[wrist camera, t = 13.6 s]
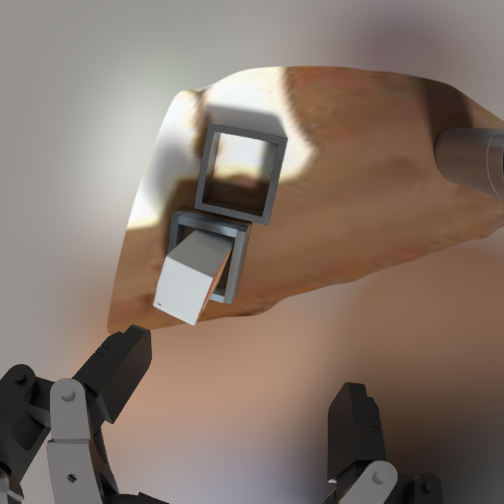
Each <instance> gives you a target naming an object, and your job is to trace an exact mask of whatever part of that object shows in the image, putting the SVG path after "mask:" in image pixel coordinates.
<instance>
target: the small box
mask: <svg viewBox="0 0 504 504" xmlns="http://www.w3.org/2000/svg"><path fill="white" fill-rule="evenodd" d="M234 244H235V241H233V240H231V239H229V238H226V237H224V236H222V235H220V234H217V233H215V232H211V231H207V230H203V229H199V228H197V229H196V230H195V231H194V232H192V233H191V234H190V235H189V236H188V237H187V238H186V239H185V240H183V241H182V242H181V243H180V244H179V245H178V246H177V247H176V248H175V249H173V250H172V251H171V252H170V253H169V254H168V255H167V256H166V258H165V261H164V265H163V268H162V271H161V275H160V278H159V281H158V285H157V290H156V295H155V299H154V303H153V306H155V307H157V308H159V309H160V310H162V311H164V312H166V313H168V314H170V315H172V316H174V317H177V318H179V319H181V320H183V321H185V322H187V323H189V324H192V325H195V324H196V323H197V321H198V319H199V317H200V315H201V313H202V311H203V310H204V308H205V306H206V304H207V302H208V300H209V299H210V297H211V295H212V293H213V291H214V290H215V288H216V286H217V284H218V282H219V280H220V277H221V274H222V272H223V269H224V267H225V265H226V262H227V260H228V257H229V255H230V253H231V250H232V248H233V246H234Z"/></svg>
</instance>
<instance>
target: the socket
mask: <svg viewBox="0 0 504 504" xmlns="http://www.w3.org/2000/svg"><path fill="white" fill-rule="evenodd" d="M221 133H224V134H230V135H236V136H242V137H247V138H252V139H257V140H262V141H267V142H272V143H276V144H279V145H278V149H277V154H276V158H275V163H274V167H273V171H272V176H271V180H270V185H269V189H268V194H267V198H266V203H265V207H264V211H260V210H256V209H252V208H248V207H243V206H239V205H235V204H230V203H226V202H221V201H217V200H212V199H209V194H210V188H211V182H212V176H213V171H214V165H215V160H216V155H217V149H218V144H219V139H220V134H221ZM287 142H288V138H284V137H279V136H275V135H270V134H265V133H260V132H255V131H250V130H244V129H239V128H233V127H227V126H220V125H214V124H209V126H208V131H207V136H206V141H205V146H204V151H203V157H202V163H201V168H200V174H199V180H198V186H197V193H196V199H195V206H194V208H195V209H200V210H204V211H208V212H213V213H217V214H222V215H226V216H230V217H234V218H239V219H243V220H247V221H251V222H255V223H259V224H264V225H268V223H269V220H270V216H271V212H272V208H273V203H274V199H275V195H276V190H277V186H278V182H279V177H280V173H281V169H282V164H283V160H284V156H285V151H286V147H287Z"/></svg>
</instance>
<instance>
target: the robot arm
mask: <svg viewBox="0 0 504 504" xmlns="http://www.w3.org/2000/svg"><path fill="white" fill-rule="evenodd" d="M435 158H436V163H437V166H438V168H439V170H440V172H441V174H442V175H443V176H444V177H445V178H446V179H447V180H449V181H451V182H453V183H456V184H459V185H463V186H465V187H469V188H472V189H475V190H478V191H480V192H483V193H486V194H489V195H492V196H494V197H497V198H500V199H502V200H504V128H451V129H447V130H445V131H444V132H442V133H441V135H440V136H439V138H438V139H437V142H436V147H435ZM151 360H152V348H151V332H150V330H147V329H145V328H142V327H139V326H137V325H134V324H133V325H131V326H130V327H129V328H128V329H127V330H126V332H125V333H121V332H119V331H118V332H117V333H115V334H113V335H111V336H109V337H108V338H107V339H106V340H105V341H104V342H103V343H102V344H101V347H99V348H98V349H97V350H96V351H95V353H93V355H92V356H91V357H90V358H89V359H88V360H87V361H86V363H85V364H84V365H83V366H82V367H81V368H80V370H79V371H78V372H77V373H76V374H75V375H74V377H72V378H63V379H60V380H58V381H56V382H52V381H49V380H46V379H42V378H39V377H36V375H35V373H34V371H33V370H32V369H31V368H30V367H29V366H27V365H24V364H19V365H15V366H13V367H12V368H11V369H10V370H9V371H8V372H7V373H6V374H5V375H4V376H3V378H2V379H1V380H0V504H21V503H22V501H23V500H24V495H23V491H22V488H21V485H20V482H21V480H22V478H23V476H24V474H25V473H26V471H27V469H28V467H29V466H30V464H31V462H32V460H33V459H34V457H35V455H36V454H37V452H38V450H39V449H40V447H41V445H42V444H43V442H44V440H45V439H46V437H47V436H48V434H49V432H50V431H51V435H52V437H51V440H49V441H48V442H47V458H48V466H49V472H50V478H51V484H52V489H53V494H54V499H55V504H169V503H166V502H164V501H161V500H158V499H156V498H153V497H150V496H148V495H146V494H143V493H141V492H139V494H138V496H137V495H130V494H120V493H119V490H118V487H117V484H116V481H115V478H114V476H113V473H112V471H111V469H110V466H109V462H108V459H107V454H106V449H105V445H104V440H103V435H102V430H101V425H102V424H103V422H104V421H107V422H109V423H111V424H113V423H114V422H115V420H116V419H117V417H118V416H119V414H120V412H121V411H122V409H123V408H124V406H125V404H126V403H127V401H128V400H129V398H130V397H131V395H132V393H133V392H134V390H135V389H136V387H137V385H138V384H139V382H140V381H141V379H142V378H143V376H144V374H145V373H146V371H147V370H148V368H149V366H150V363H151ZM381 427H382V425H381V420H380V414H379V408H378V406H377V404H376V403H375V401H374V399H373V398H371V397H367V393H366V388H365V385H364V384H359V383H351V382H346V383H345V384H344V385H343V386H342V388H341V390H340V391H339V392H338V394H337V395H336V397H335V398H334V400H333V401H332V403H331V405H330V407H329V411H328V470H327V482H336V489H334V490H333V491H332V493H331V494H330V495H329V496H328V497H327V498H326V499H325V500H324V501H323V502H322V503H321V504H443V497H442V487H441V482H440V479H439V478H438V477H437V476H436V475H435V474H433V473H430V472H427V473H423V474H421V475H419V476H418V477H411V476H407V475H402V474H399V473H397V471H396V469H395V468H394V466H393V465H391V464H390V463H388V462H387V460H386V453H385V445H384V439H383V432H382V429H381Z"/></svg>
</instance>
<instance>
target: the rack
mask: <svg viewBox="0 0 504 504" xmlns="http://www.w3.org/2000/svg"><path fill="white" fill-rule="evenodd" d="M251 227H252V223H250V222H246V221H242V220H237V219H233V218H229V217H225V216H220V215H216V214H212V213H207V212H203V211H198V210H194V209H189V208H185V207H179V208H178V211H177V212H176V213H174V214H172V215H171V225H170V234H169V245H168V254H169V253H170V252H171V251H172V250H173V249H175V248H176V247H177V246H178V245H179V244H180V243H181V242H182V241H183V240H185V239H186V238H187V237H188V236H189V235H190V234H191V233H192V232H194V231H195V230H196V229H197V228H199V229H203V230H207V231H211V232H215V233H217V234H220V235H222V236H224V237H226V238H229V239H231V240H233V241H235V244H234V246H233V248H232V250H231V253H230V255H229V257H228V260H227V262H226V265H225V267H224V269H223V272H222V274H221V277H220V280H219V282H218V284H217V286H216V288H215V290H214V291H213V293H212V295H211V297H210V299H211V300H214V301H218V302H222V303H227V304H231V302H232V300H233V297H236V295H237V292H238V287H239V283H240V278H241V273H242V269H243V264H244V259H245V255H246V250H247V245H248V240H249V236H250V231H251Z"/></svg>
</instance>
